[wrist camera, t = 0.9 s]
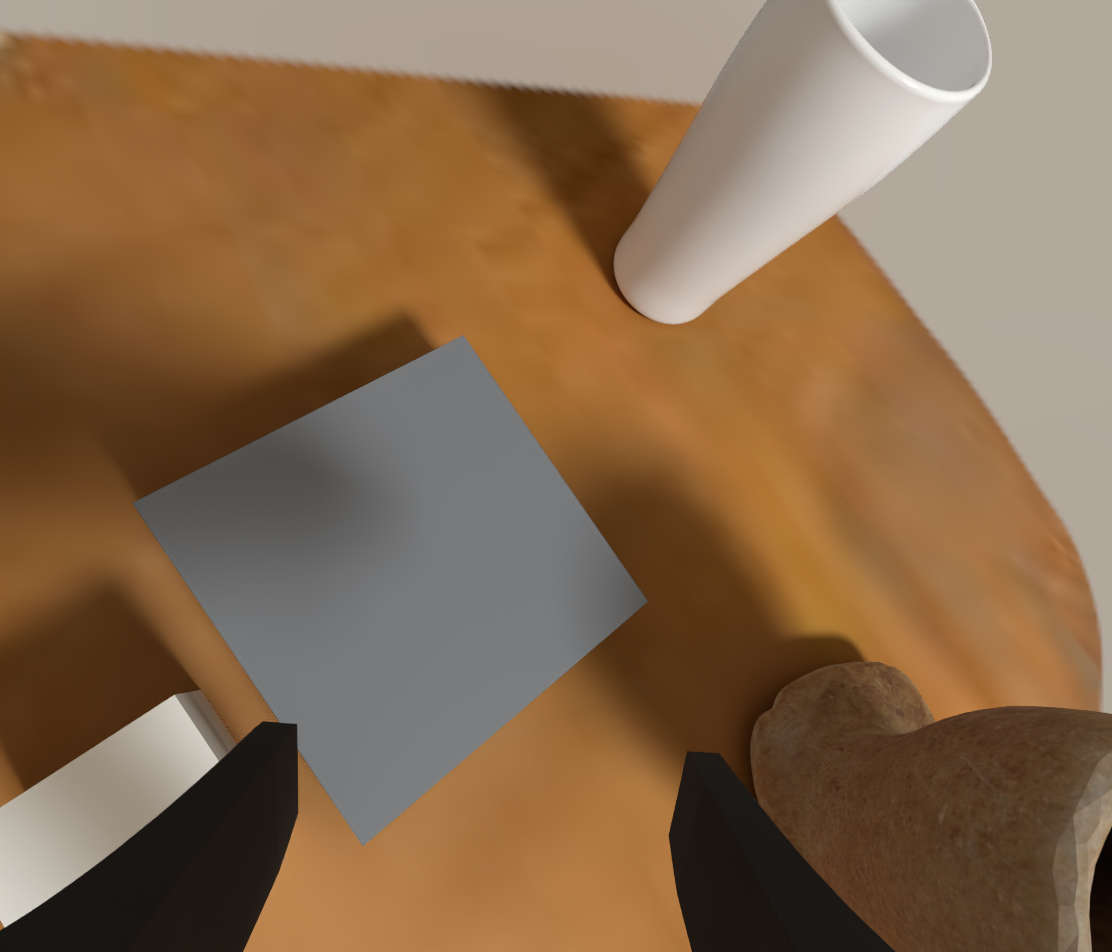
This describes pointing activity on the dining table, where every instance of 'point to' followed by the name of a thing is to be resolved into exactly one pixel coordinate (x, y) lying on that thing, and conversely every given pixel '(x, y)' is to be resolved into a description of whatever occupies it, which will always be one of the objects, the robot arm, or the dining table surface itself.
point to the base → (395, 575)
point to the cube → (104, 799)
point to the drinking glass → (796, 138)
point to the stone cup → (944, 812)
